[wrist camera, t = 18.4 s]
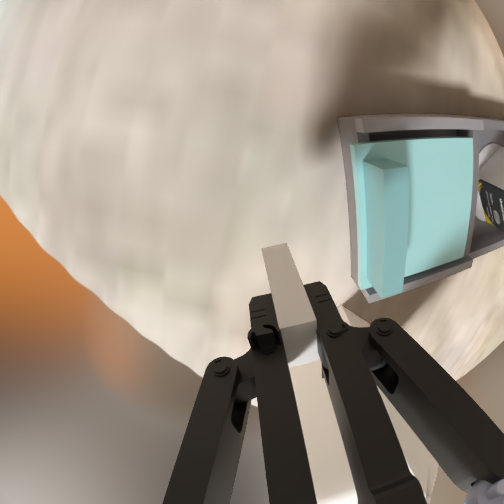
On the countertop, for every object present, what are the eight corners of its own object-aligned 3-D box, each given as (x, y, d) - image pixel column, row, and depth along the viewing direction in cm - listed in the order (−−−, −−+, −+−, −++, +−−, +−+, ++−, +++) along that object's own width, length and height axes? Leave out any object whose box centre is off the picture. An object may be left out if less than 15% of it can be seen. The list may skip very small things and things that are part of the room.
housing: (337, 117, 20) (362, 119, 16) (511, 121, 19) (536, 128, 15) (351, 276, 27) (368, 303, 23) (505, 228, 26) (525, 242, 22)
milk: (341, 305, 29) (434, 527, 6) (389, 337, 33) (466, 495, 10) (273, 365, 33) (306, 560, 10) (329, 385, 37) (372, 536, 14)
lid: (349, 143, 17) (374, 151, 14) (467, 136, 17) (496, 144, 14) (357, 285, 23) (374, 311, 20) (459, 253, 23) (480, 271, 19)
